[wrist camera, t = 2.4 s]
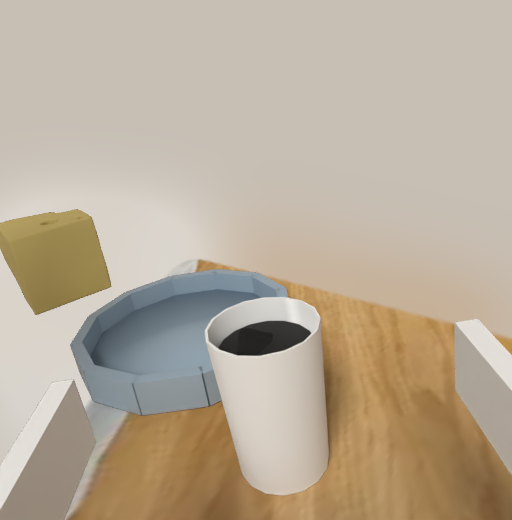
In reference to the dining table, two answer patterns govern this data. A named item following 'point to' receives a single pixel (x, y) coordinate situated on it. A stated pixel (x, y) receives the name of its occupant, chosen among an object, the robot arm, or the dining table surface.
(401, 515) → the dining table surface
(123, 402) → the blue round tray
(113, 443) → the dining table surface
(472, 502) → the dining table surface
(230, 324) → the white coffee cup
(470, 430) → the dining table surface
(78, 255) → the cheese
